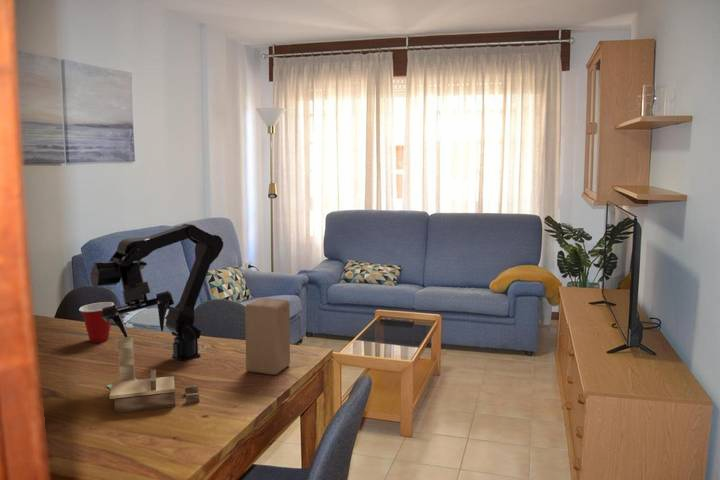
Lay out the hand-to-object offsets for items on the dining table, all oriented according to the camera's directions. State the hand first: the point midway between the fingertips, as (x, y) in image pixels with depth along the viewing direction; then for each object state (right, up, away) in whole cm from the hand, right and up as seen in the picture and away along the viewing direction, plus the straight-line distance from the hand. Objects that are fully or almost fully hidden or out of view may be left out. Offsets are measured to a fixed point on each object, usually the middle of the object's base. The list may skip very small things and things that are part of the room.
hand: (145, 335), depth 168 cm
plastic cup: (-28, -7, +36) cm, 46 cm away
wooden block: (+32, -11, +11) cm, 36 cm away
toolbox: (+8, -14, -14) cm, 21 cm away
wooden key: (-3, -13, -4) cm, 14 cm away
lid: (+5, -11, -15) cm, 19 cm away
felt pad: (-3, -13, -4) cm, 14 cm away
